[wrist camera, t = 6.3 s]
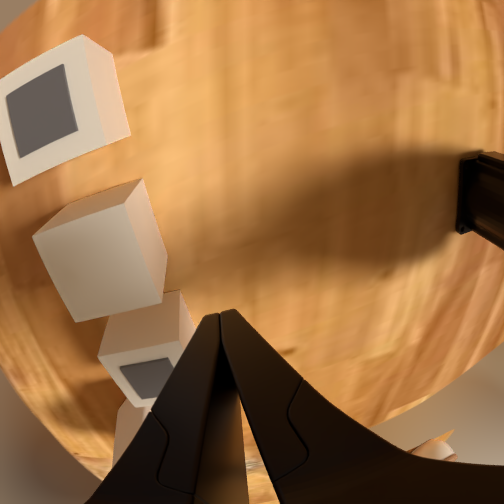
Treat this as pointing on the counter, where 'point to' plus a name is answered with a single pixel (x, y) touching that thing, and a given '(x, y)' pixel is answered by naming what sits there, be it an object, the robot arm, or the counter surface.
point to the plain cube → (105, 253)
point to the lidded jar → (435, 450)
